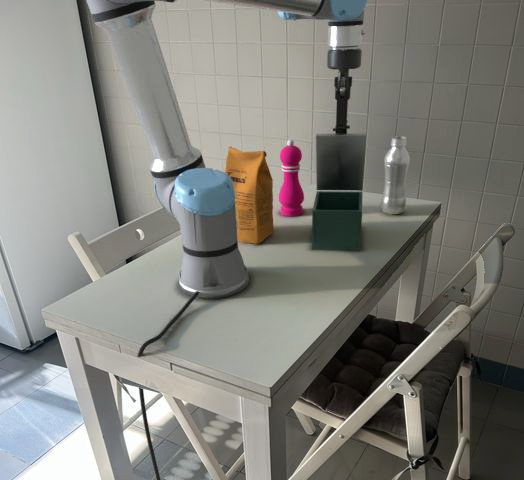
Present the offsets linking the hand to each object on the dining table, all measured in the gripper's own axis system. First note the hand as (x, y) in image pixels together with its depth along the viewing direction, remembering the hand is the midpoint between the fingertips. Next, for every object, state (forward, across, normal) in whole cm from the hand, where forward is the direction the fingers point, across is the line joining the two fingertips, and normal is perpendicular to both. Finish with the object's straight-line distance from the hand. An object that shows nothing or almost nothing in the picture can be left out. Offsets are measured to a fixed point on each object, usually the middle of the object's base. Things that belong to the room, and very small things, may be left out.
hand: (340, 158), depth 130 cm
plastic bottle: (+18, +13, -15) cm, 27 cm away
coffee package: (+19, -6, +23) cm, 30 cm away
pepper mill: (+19, +12, +13) cm, 26 cm away
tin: (+18, -6, 0) cm, 19 cm away
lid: (+1, -2, 0) cm, 2 cm away
